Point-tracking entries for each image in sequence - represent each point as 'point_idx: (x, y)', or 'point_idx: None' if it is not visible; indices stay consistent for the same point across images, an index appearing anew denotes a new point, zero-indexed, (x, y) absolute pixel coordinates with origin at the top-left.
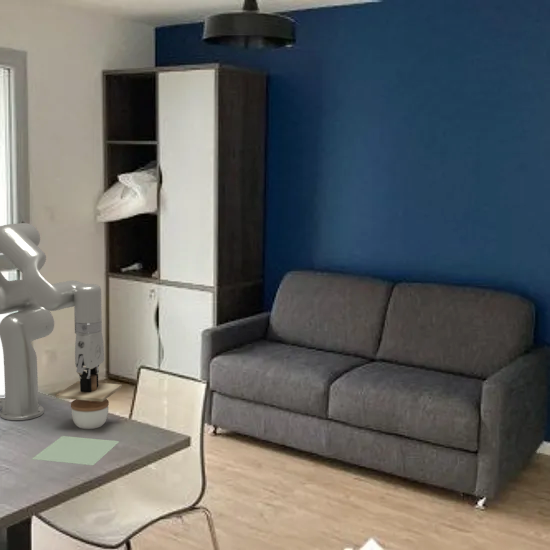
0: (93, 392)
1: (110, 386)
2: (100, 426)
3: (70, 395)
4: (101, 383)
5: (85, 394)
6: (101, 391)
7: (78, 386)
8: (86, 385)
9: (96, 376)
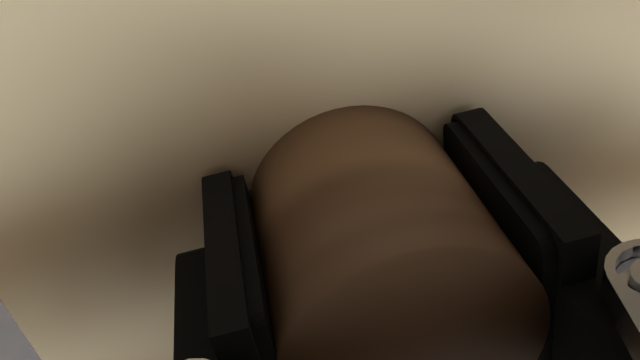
0: (454, 69)
1: (23, 32)
2: None
3: (636, 227)
4: (2, 253)
5: (572, 106)
6: None
7: None
8: (574, 197)
9: (356, 265)
